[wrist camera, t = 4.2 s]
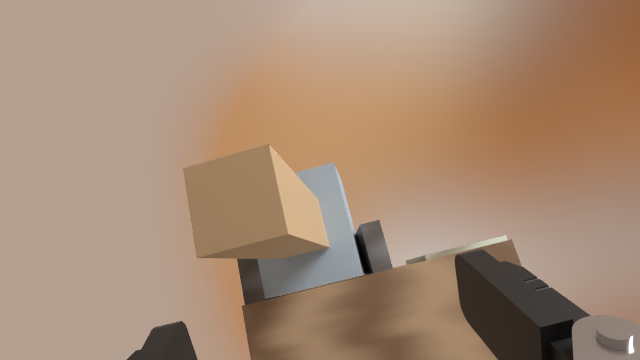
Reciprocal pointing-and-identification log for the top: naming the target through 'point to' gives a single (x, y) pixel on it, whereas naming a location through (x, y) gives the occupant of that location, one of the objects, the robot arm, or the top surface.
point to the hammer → (274, 219)
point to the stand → (370, 309)
